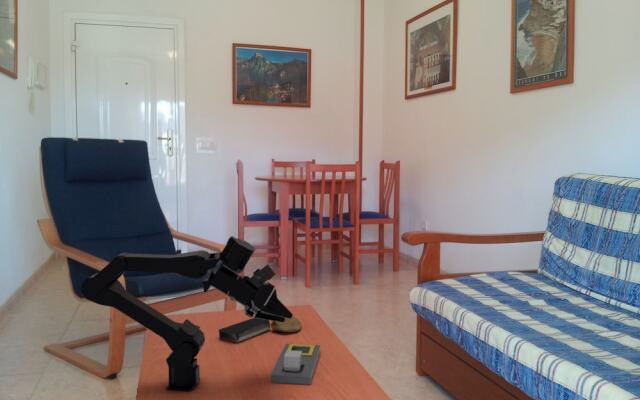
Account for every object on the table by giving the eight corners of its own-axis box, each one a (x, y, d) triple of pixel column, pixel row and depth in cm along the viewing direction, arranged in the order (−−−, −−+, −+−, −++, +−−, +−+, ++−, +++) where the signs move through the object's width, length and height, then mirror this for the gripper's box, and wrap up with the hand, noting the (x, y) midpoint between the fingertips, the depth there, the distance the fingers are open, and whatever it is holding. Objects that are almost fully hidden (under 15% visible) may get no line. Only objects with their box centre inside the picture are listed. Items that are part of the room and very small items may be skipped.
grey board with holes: (270, 382, 129) (270, 373, 129) (285, 350, 150) (285, 342, 150) (310, 384, 128) (310, 375, 128) (320, 352, 149) (320, 344, 149)
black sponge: (235, 346, 154) (234, 334, 154) (216, 339, 159) (216, 328, 159) (272, 331, 167) (272, 320, 166) (254, 325, 172) (254, 315, 172)
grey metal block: (284, 379, 131) (284, 356, 131) (286, 372, 135) (286, 350, 135) (299, 379, 131) (299, 357, 130) (302, 373, 135) (302, 350, 134)
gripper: (256, 249, 120) (313, 284, 121) (246, 265, 137) (296, 295, 138) (230, 290, 116) (289, 326, 116) (223, 301, 133) (275, 333, 133)
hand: (288, 318), depth 126 cm, fingers open, 9 cm apart
